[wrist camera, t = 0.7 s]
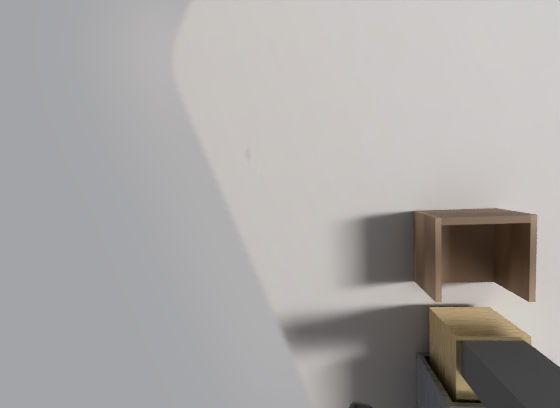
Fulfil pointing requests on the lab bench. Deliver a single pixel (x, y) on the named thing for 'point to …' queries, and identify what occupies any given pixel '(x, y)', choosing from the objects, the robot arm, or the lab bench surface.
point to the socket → (475, 249)
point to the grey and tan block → (489, 360)
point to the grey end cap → (434, 388)
